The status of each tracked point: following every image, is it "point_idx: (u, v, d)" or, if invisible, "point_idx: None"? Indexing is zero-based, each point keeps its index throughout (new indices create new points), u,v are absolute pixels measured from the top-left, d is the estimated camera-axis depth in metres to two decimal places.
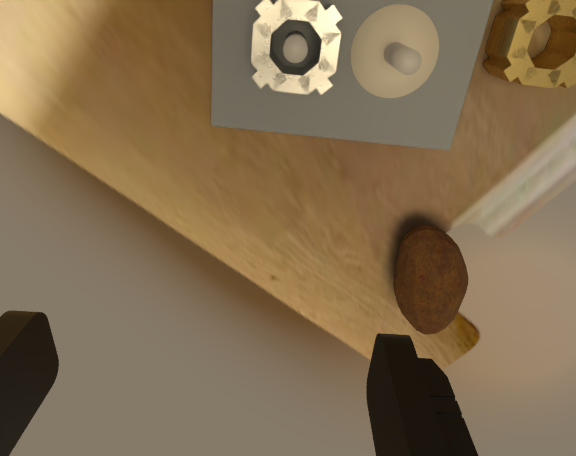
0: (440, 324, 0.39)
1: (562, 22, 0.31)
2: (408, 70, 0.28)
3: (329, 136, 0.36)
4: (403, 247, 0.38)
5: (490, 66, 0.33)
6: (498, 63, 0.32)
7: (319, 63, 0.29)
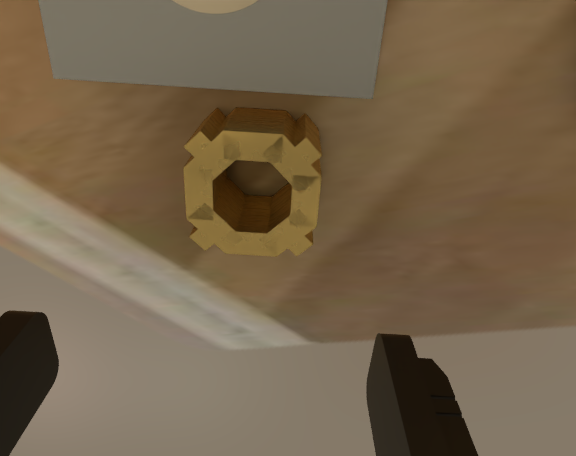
0: None
1: (282, 204, 0.21)
2: None
3: None
4: None
5: (210, 116, 0.19)
6: (215, 126, 0.19)
7: None
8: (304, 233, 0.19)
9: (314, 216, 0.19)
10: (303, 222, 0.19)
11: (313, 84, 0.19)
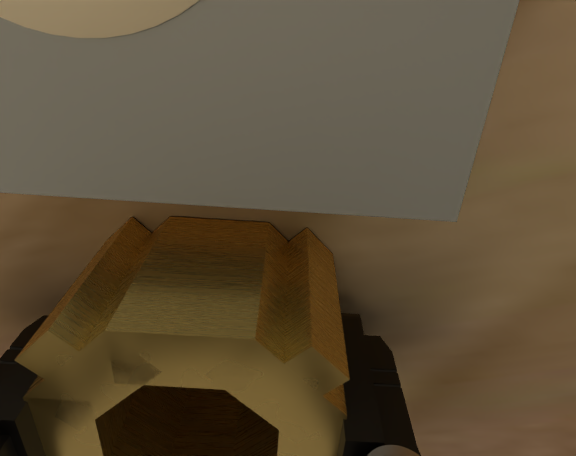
0: None
1: None
2: None
3: None
4: None
5: (106, 251, 0.09)
6: (110, 280, 0.09)
7: None
8: None
9: None
10: None
11: (327, 193, 0.08)
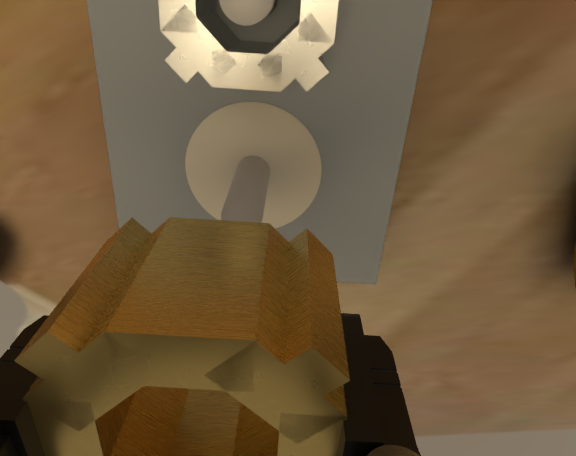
0: None
1: None
2: (228, 218, 0.17)
3: (100, 76, 0.19)
4: None
5: (106, 252, 0.09)
6: (110, 280, 0.09)
7: (224, 52, 0.15)
8: None
9: None
10: None
11: None
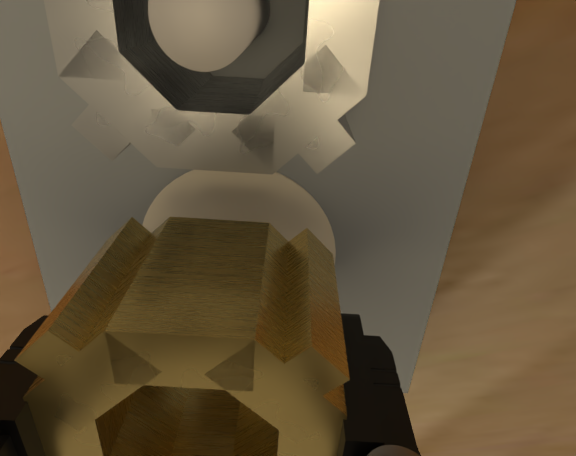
0: None
1: None
2: None
3: (7, 128, 0.13)
4: None
5: (106, 251, 0.09)
6: (110, 280, 0.09)
7: (173, 111, 0.08)
8: None
9: None
10: None
11: None
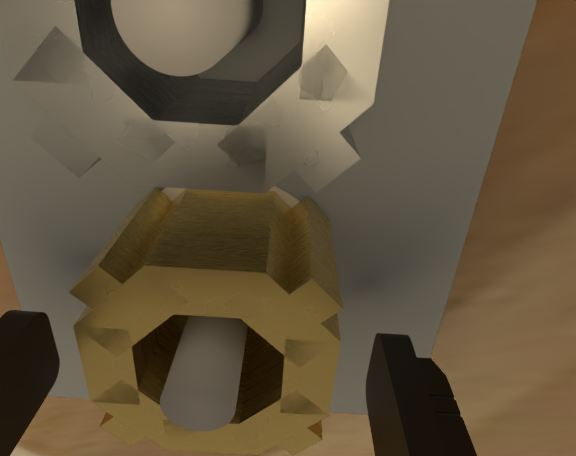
0: None
1: (268, 351, 0.12)
2: (174, 407, 0.09)
3: None
4: None
5: (137, 211, 0.11)
6: (142, 234, 0.10)
7: (148, 121, 0.07)
8: (307, 424, 0.11)
9: (325, 401, 0.10)
10: (305, 408, 0.10)
11: (345, 405, 0.16)
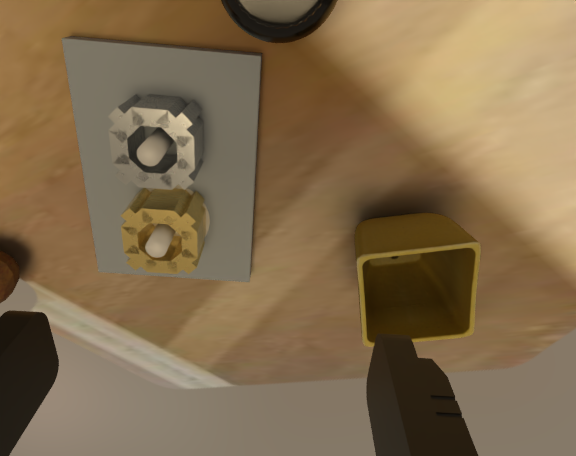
0: None
1: None
2: (149, 248, 0.33)
3: (84, 169, 0.35)
4: None
5: (138, 194, 0.34)
6: (140, 201, 0.34)
7: (143, 172, 0.31)
8: (191, 261, 0.34)
9: (195, 252, 0.34)
10: (190, 255, 0.34)
11: (221, 276, 0.40)
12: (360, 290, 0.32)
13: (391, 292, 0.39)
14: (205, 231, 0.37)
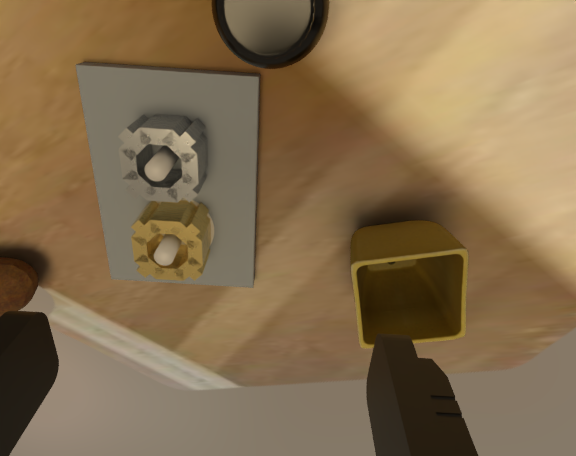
0: None
1: None
2: (157, 257, 0.35)
3: (97, 183, 0.38)
4: (5, 265, 0.39)
5: (147, 207, 0.37)
6: (149, 213, 0.36)
7: (151, 187, 0.33)
8: (196, 269, 0.37)
9: (200, 260, 0.36)
10: (195, 263, 0.36)
11: (226, 282, 0.42)
12: (355, 295, 0.34)
13: (388, 296, 0.40)
14: (210, 240, 0.40)
